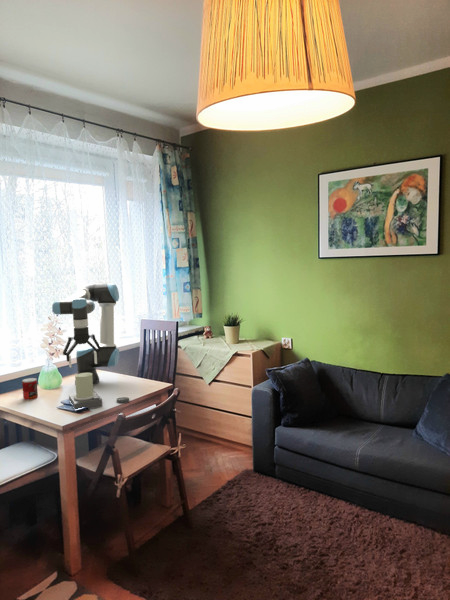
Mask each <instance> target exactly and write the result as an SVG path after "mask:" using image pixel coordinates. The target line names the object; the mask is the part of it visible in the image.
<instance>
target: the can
mask: <svg viewBox="0 0 450 600" xmlns="http://www.w3.org/2000/svg"><path fill="white" fill-rule="evenodd" d="M74 376H75V380H76V385H75V394H76V397H78V398H86V397H90V396H93V395H94V393H93V390H94V385H93V379H92V373H80V374H77V373H76V374H75V375H74ZM75 380H74V381H75Z"/></svg>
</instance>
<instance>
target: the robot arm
mask: <svg viewBox="0 0 450 600" xmlns="http://www.w3.org/2000/svg"><path fill="white" fill-rule="evenodd" d="M119 299H120V293H119V288H118V286H117V285H116V284H115V283H112V282H111V283H109V282H107V283H90V284H86V285H84V286H81V287H80V288H78V289H77V290H76V291H75V293H73V294H72V295H69V296H68V297H67V298H65V299H63V300H58V301H54V302H53V303H52V313H53V314H54V315H72V318H73V319H72V322H73V336H68V337H67V342H66V345H65V347H64V349H63V350H62V355H63V356H66V362H68V367H69V368H72V358H71V357H72V355H71V353H72V352H73V351H74V349H75V348H76V347H77V346H78V345H85V344H87V345H88V346H87V347H82V348H79V349H78V350H76V354H75V356H76V357H75V358H76V359H75V360H76V371H77V373H76V375H77V374H80V373H92V379H93V386H95V385H97V384H100V377H99V374H98V372H97V368H113V367H116V366H117V365H118V362H119V360H120V349H119V348H117V345H116V344H115V330H114V329H115V323H114V322H115V321H114V320H115V318H114V316H115V315H114V313H115V310H114V308H115V306H116V305H117V302H118V301H119ZM95 302H97V305H98V306H99V330H100V331H99V332H100V333H99V335H100V336H99V337H100V338H99V342H98V340H97V339H96V335H95V334H93V333H92V334H90V333H89V317H88V314H92V312H94V311H95V309H96V308H95V307H96V305H95ZM90 339H92V341H93V342H94V344H95V346H94V344H93V343H91V341H89V340H90ZM73 341H74V342H73ZM72 342H73V344H72V345H71V343H72ZM70 345H71V346H70ZM96 347H97V348H96ZM74 385H75V386H76V380H74Z"/></svg>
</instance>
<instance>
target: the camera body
mask: <svg viewBox="0 0 450 600" xmlns="http://www.w3.org/2000/svg"><path fill="white" fill-rule="evenodd" d="M93 393H94V395H93V396H90V397H86V398H78V397H76V393H73V394H69V395H68V400H70V401H71V403H72V404H73V407H74V408H75V409H78V408H82V407H87V408H88V409H87V410H89V409H96V408H101V407H103V399H102V398H101V396H100V395H99V394H98V393H97V392H96V391H95V390H94V389H93ZM73 407H72V408H73ZM74 408H73V409H74Z"/></svg>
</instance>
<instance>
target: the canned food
mask: <svg viewBox="0 0 450 600" xmlns="http://www.w3.org/2000/svg"><path fill="white" fill-rule="evenodd" d="M21 383H22V384H21V386H22V395H23V396H22V397H23V400H24V401H30V400H31V401H32V400H36V399H37V398H38V395H39V394H38V379H37V378H36V377H29V378H24V379H22V381H21Z"/></svg>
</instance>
